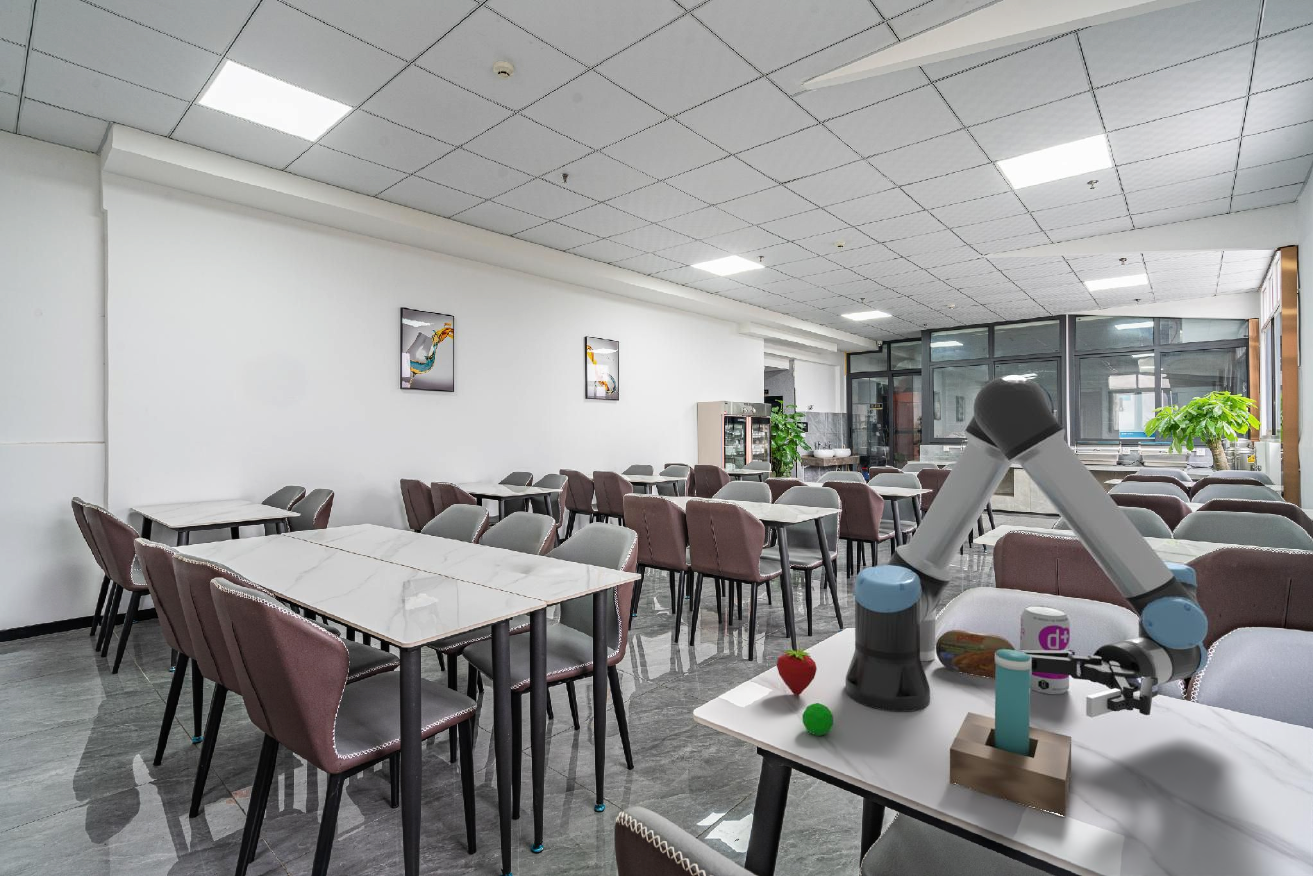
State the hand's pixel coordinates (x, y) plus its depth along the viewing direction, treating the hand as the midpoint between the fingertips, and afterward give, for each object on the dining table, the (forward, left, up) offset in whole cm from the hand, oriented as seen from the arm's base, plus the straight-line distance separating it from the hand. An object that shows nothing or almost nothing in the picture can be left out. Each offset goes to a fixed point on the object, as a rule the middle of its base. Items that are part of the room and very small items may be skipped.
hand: (1042, 688), depth 95 cm
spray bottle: (-26, +37, -12) cm, 47 cm away
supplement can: (-2, +34, -12) cm, 36 cm away
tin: (-14, +34, -12) cm, 39 cm away
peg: (-3, -5, -12) cm, 14 cm away
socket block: (-3, -5, -12) cm, 14 cm away
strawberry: (-40, +3, -12) cm, 42 cm away
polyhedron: (-31, -9, -12) cm, 35 cm away
